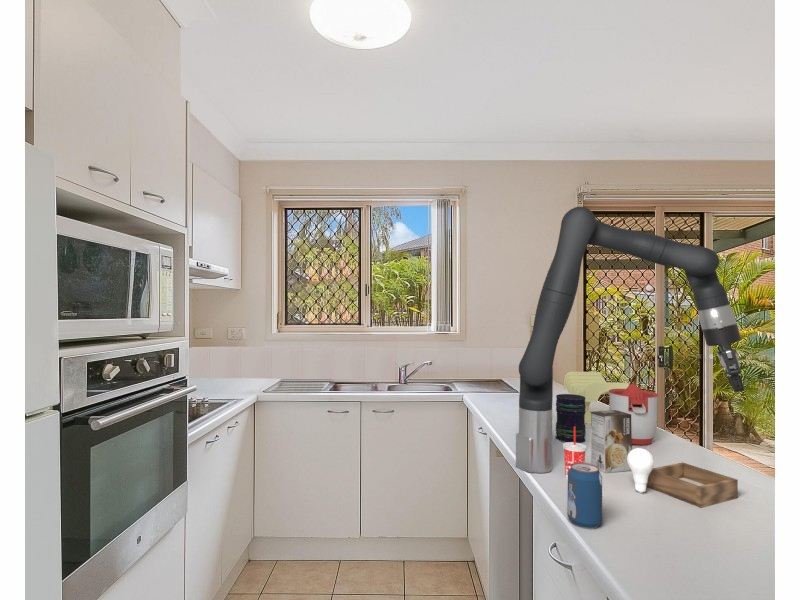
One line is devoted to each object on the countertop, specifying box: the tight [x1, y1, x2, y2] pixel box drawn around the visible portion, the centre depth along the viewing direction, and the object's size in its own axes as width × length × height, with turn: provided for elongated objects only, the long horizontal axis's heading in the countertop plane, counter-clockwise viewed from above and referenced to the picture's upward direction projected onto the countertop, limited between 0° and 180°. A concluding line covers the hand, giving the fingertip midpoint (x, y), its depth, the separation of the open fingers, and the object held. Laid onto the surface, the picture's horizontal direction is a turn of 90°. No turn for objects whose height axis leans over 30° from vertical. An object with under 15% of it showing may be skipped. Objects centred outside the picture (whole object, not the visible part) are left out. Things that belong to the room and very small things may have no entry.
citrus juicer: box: [608, 383, 659, 446], centre depth 166 cm, size 16×17×20 cm
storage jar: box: [555, 393, 586, 444], centre depth 168 cm, size 10×10×15 cm
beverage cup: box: [562, 426, 588, 481], centre depth 129 cm, size 6×6×14 cm
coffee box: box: [590, 410, 633, 474], centre depth 138 cm, size 9×6×16 cm
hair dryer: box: [563, 371, 630, 425], centre depth 198 cm, size 30×16×18 cm, turn 176°
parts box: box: [646, 462, 739, 508], centre depth 121 cm, size 14×14×4 cm
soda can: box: [566, 462, 603, 530], centre depth 103 cm, size 7×7×12 cm
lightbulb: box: [627, 447, 655, 494], centre depth 120 cm, size 6×6×11 cm
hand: (737, 388), depth 120 cm, fingers open, 8 cm apart
